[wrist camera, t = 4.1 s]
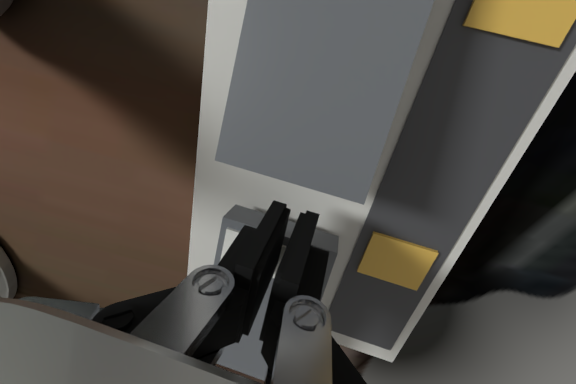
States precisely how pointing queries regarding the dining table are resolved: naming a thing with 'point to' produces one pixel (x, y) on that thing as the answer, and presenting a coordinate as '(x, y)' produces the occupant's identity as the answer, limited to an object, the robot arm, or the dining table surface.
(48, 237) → the dining table surface
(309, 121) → the switch
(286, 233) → the switch
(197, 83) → the dining table surface
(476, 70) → the switch unit
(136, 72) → the dining table surface
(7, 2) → the plastic bottle
